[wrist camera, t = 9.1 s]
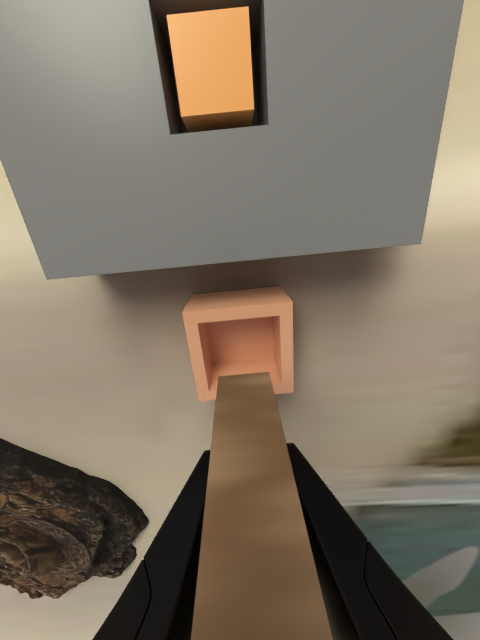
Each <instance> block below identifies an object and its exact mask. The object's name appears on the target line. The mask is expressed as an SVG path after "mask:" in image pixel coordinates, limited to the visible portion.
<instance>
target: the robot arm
mask: <svg viewBox="0 0 480 640" xmlns="http://www.w3.org/2000/svg"><path fill="white" fill-rule="evenodd" d="M286 445H287V449H288V453H289V457H290V462H291V466H292V470H293V474H294V478H295V483H296V487H297V491H298V495H299V499H300V504H301V508H302V512H303V516H304V521H305V525H306V529H307V533H308V537H309V542H310V546H311V550H312V554H313V558H314V563H315V567H316V571H317V575H318V579H319V584H320V588H321V592H322V596H323V600H324V605H325V609H326V613H327V617H328V621H329V626H330V630H331V634H332V638H333V640H453V639H452V638H451V637H450V636H449V634H448V633H447V632H446V631H445V630H444V629H443V628H442V627H441V625H440V624H439V623H438V622H437V621H436V620H435V619H434V618H433V616H432V615H431V614H430V613H429V612H428V611H427V610H426V609H425V608H424V607H423V605H422V604H421V603H420V602H419V601H418V600H417V599H416V597H415V596H414V595H413V594H412V593H411V592H410V591H409V590H408V588H407V587H406V586H405V585H404V584H403V583H402V581H401V580H400V579H399V578H398V577H397V575H396V574H395V573H394V572H393V570H392V569H391V568H390V567H389V565H388V564H387V563H386V562H385V561H384V559H383V558H382V557H381V556H380V554H379V553H378V552H377V550H376V549H375V548H374V546H373V545H372V544H371V543H370V542H369V541H368V542H367V538H366V536H365V535H364V534H363V532H362V531H361V530H360V528H359V527H358V526H357V525H356V523H355V522H354V521H353V519H352V518H351V517H350V516H349V514H348V513H347V512H346V510H345V509H344V508H343V506H342V505H341V504H340V503H339V501H338V500H337V499H336V497H335V496H334V495H333V493H332V492H331V491H330V490H329V488H328V487H327V486H326V484H325V483H324V482H323V481H322V479H321V478H320V477H319V475H318V474H317V473H316V471H315V470H314V469H313V468H312V466H311V465H310V464H309V462H308V461H307V460H306V458H305V457H304V456H303V455H302V453H301V452H300V451H299V449H298V448H297V447H296V446H295V444H293V443H286ZM210 451H211V450H206V451H204V453H203V454H202V456H201V458H200V460H199V461H198V463H197V465H196V467H195V468H194V470H193V472H192V474H191V475H190V477H189V479H188V481H187V482H186V484H185V486H184V488H183V489H182V491H181V493H180V495H179V496H178V498H177V500H176V502H175V503H174V505H173V507H172V509H171V510H170V512H169V514H168V516H167V517H166V519H165V521H164V523H163V524H162V526H161V528H160V530H159V531H158V533H157V535H156V537H155V538H154V540H153V542H152V544H151V545H150V547H149V549H148V551H147V552H146V554H145V556H144V560H142V561H141V563H140V564H139V566H138V568H137V570H136V571H135V573H134V575H133V577H132V578H131V580H130V582H129V583H128V585H127V587H126V588H125V590H124V592H123V593H122V595H121V597H120V598H119V600H118V602H117V603H116V605H115V606H114V608H113V609H112V611H111V612H110V614H109V615H108V617H107V618H106V620H105V621H104V623H103V625H102V626H101V628H100V629H99V631H98V632H97V634H96V635H95V637H94V638H93V640H191V634H192V625H193V615H194V605H195V596H196V586H197V576H198V567H199V557H200V548H201V538H202V528H203V519H204V509H205V500H206V490H207V480H208V471H209V461H210Z"/></svg>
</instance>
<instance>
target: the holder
mask: <svg viewBox="0 0 480 640" xmlns="http://www.w3.org/2000/svg"><path fill="white" fill-rule="evenodd" d="M182 316H183V321H184V326H185V331H186V337H187V342H188V347H189V352H190V358H191V363H192V368H193V373H194V379H195V384H196V389H197V395H198V400H199V401H209V400H216V394H217V384H218V376H228V375H239V374H250V373H262V372H269V373H270V377H271V382H272V386H273V390H274V394H286V393H294V370H293V301H292V300H291V299H290V297H289V296H288V295H287V294H286V292H285V291H284V290H283V288H282V287H281V286H274V287H263V288H253V289H242V290H232V291H221V292H211V293H200V294H192V296H191V298H190V299H189V301H188V303H187V304H186V306H185V308H184V309H183V311H182Z"/></svg>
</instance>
